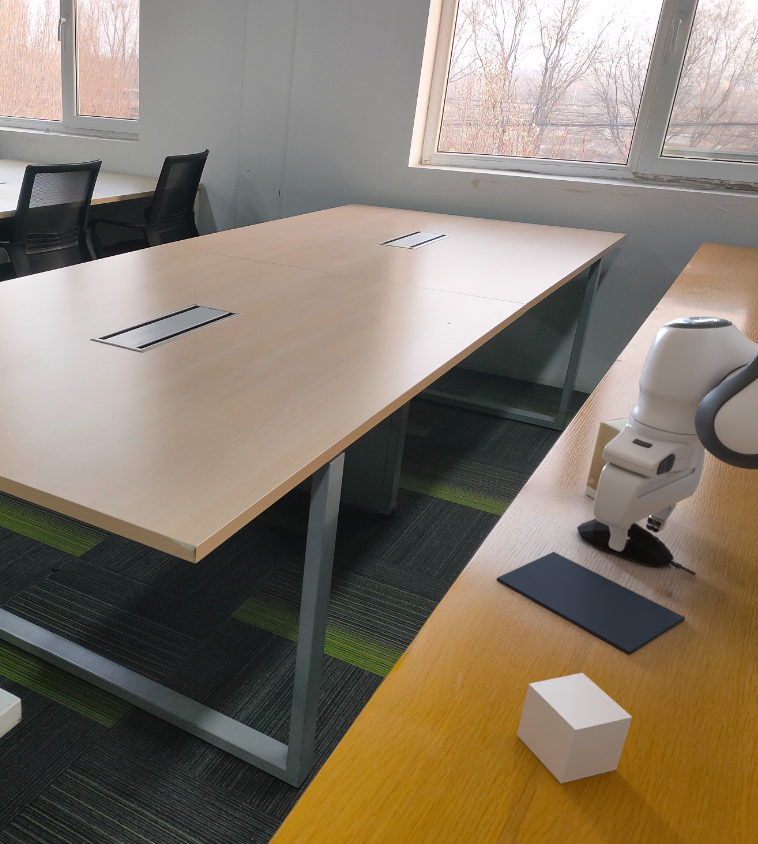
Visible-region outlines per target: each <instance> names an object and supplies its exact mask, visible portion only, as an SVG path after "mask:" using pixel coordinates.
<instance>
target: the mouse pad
mask: <svg viewBox="0 0 758 844" xmlns="http://www.w3.org/2000/svg"><path fill="white" fill-rule="evenodd" d="M496 581H497V582H499V583H501V584H502V585H504V586H506V587H508V588H510V589H511V590H513V591H515V592H516V593H519V594H520V595H522V596H524V597H525V598H527V599H529V600H531V601H532V602H534V603H536V604H538V605H539V606H541V607H543V608H545V609H547V610H548V611H550V612H552V613H554V614H555V615H557V616H559V617H561V618H563V619H565V620H566V621H569V622H570V623H572V624H573V625H575V626H577V627H579V628H580V629H582V630H584V631H587V632H588V633H590V634H591V635H593V636H594V637H597V638H598V639H600V640H602V641H604V642H605V643H607V644H608V645H611V646H613V647H614V648H616V649H618V650H620V651H622V652H624V653H625V654H627V655H631V654H633V653H634V652H636V651H638V650H640V649H641V648H642V647H644V646H645V645H647V644H648V643H650V642H652V641H653V640H655V639H656V638H658V637H660V636H662V635H663V634H664V633H666V632H668V631H669V630H672V628H674V627H676V626H677V625H679V624H681V623H682V622H684V621H685V619H686V616H683V615H681V614H680V613H678V612H676V611H674V610H673V609H669V608H668V607H666V606H664V605H662V604H659V603H657V602H656V601H654V600H652V599H649V598H647V597H645V596H643V595H642V594H639V593H637V592H636V591H633V590H631V589H629V588H627V587H625V586H623V585H621V584H619V583H617V582H615V581H613V580H612V579H609V578H607V577H605V576H603V575H601V574H599V573H598V572H595V571H593V570H591V569H590V568H587V567H585V566H584V565H582V564H579V563H578V562H575V561H573V560H571V559H569V558H568V557H565V556H563V555H561V554H559V553H557V552H555V551H552V552H550V553H547V554H546V555H544V556H541V557H539V558H537V559H535V560H533V561H530V562H528V563H526V564H524V565H521V566H519V567H518V568H515V569H513V570H511V571H509V572H507V573H504V574H502V575H500V576H498V577H496Z"/></svg>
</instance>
